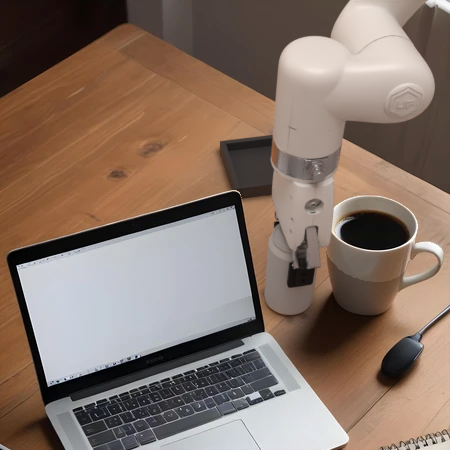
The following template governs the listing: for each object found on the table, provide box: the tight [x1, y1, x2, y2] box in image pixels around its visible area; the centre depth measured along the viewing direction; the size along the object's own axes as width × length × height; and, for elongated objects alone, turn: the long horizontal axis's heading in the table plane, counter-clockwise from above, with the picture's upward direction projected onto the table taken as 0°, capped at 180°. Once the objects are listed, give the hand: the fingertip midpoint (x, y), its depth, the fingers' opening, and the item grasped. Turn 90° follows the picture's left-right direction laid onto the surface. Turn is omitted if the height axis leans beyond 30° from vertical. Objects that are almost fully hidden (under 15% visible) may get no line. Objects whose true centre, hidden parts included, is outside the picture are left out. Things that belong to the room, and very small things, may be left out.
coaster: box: [219, 134, 274, 199], centre depth 126 cm, size 11×11×2 cm
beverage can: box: [263, 223, 321, 316], centre depth 106 cm, size 6×6×12 cm
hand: (292, 263), depth 105 cm, fingers closed on beverage can, 6 cm apart
